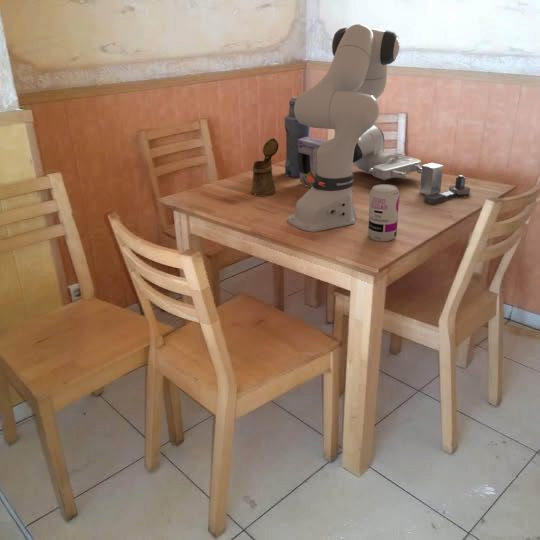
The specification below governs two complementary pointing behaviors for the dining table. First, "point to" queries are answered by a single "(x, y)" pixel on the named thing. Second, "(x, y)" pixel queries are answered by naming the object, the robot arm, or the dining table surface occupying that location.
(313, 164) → the cake pan box
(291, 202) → the dining table surface
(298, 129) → the bottle
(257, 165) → the wooden mug
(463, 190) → the ratchet
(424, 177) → the tall grey pillar block
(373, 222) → the supplement can
